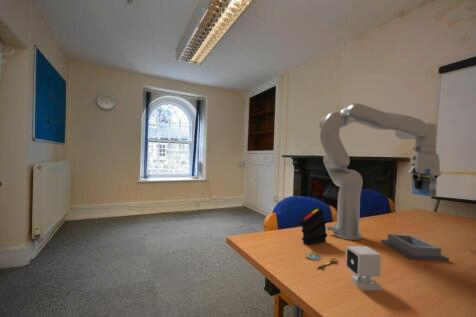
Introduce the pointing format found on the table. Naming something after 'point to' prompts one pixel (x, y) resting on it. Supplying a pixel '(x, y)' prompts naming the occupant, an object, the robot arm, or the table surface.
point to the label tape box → (426, 185)
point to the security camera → (363, 266)
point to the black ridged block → (313, 227)
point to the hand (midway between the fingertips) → (423, 188)
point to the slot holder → (414, 248)
